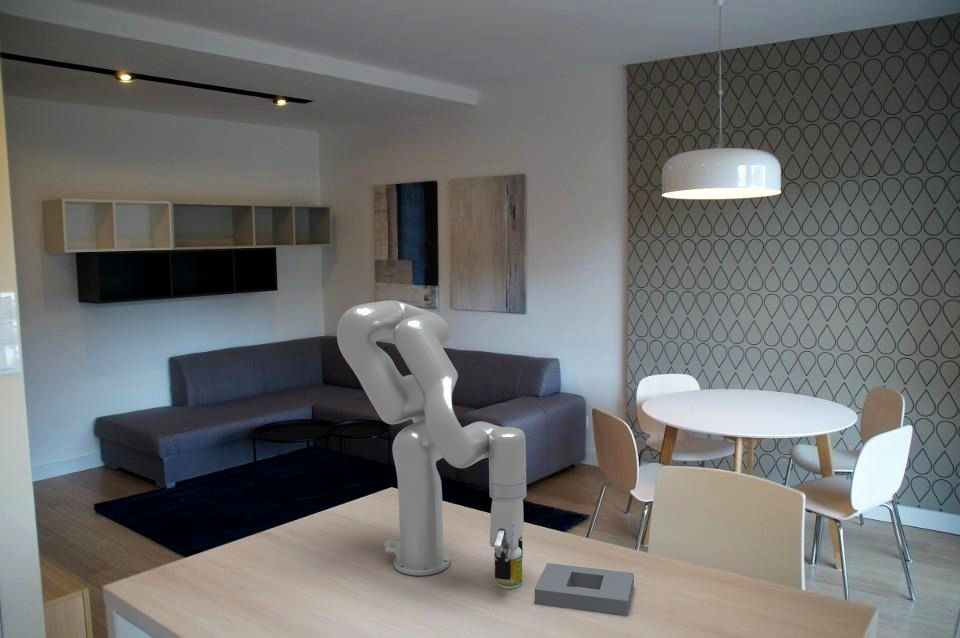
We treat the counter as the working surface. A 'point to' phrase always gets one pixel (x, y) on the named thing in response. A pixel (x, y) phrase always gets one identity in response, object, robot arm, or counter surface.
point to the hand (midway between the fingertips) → (509, 568)
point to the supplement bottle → (513, 569)
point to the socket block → (608, 599)
